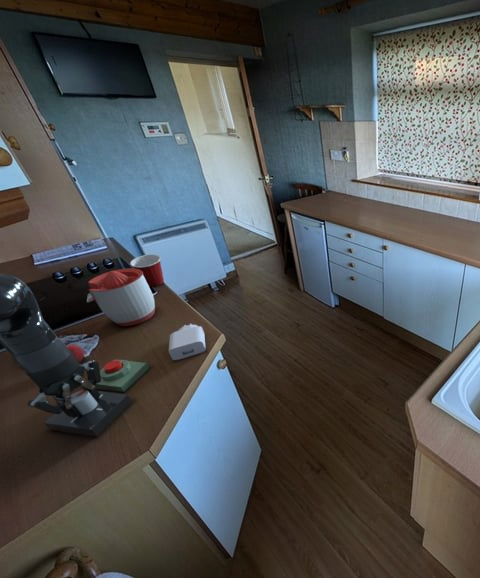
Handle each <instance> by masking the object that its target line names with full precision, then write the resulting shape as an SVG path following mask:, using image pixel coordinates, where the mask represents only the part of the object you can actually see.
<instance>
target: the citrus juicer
mask: <svg viewBox="0 0 480 578" xmlns="http://www.w3.org/2000/svg"><path fill="white" fill-rule="evenodd" d="M87 283H88V285H89V287H90V288H89V289H88V291H89V292H88V294H87V295H86V296H87V299H86V303H91V302H93V301H94V302H95V303H96V304H97V305H98V307H99V308H100V310H101V311H102V312H103V314H104V315H105V316H106V317H107V318H109V319H110V320H111V321H112V322H113V323H114V324H117V325H118V326H121V327H131V326H135V325H139V324H141V323H144V322H145V321H147V320H149V319H151V318H152V317H153V316H154V314H155V311H156V303H155V297H154V295H153V292H152V290H151V288H150V286H149V285H148V284H147V282H146V280H145V278H144V276H143V272H142V271H141V270H140V269H135V268H134V267H129V268H128V267H127V268H121V269H115V270H110V271H108V272H105V273H102V274H100V275H97V276H95V277H93V278H91V279H90V280H89V281H88V282H87Z"/></svg>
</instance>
